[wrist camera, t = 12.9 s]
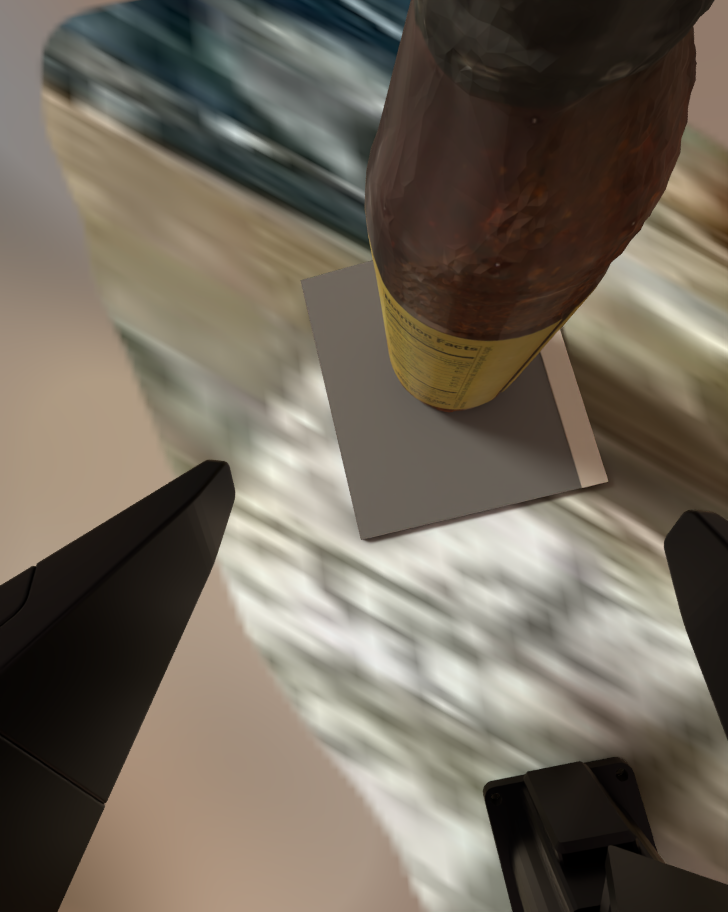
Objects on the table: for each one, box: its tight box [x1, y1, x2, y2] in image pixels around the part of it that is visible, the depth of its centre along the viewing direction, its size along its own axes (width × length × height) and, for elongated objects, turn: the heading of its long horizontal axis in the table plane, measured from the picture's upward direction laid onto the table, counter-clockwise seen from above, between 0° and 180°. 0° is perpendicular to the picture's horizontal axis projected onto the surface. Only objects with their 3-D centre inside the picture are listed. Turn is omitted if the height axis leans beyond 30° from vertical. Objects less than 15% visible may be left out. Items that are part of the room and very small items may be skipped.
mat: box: [301, 260, 608, 540], centre depth 21 cm, size 14×12×1 cm
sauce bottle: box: [365, 0, 714, 412], centre depth 11 cm, size 7×6×20 cm
